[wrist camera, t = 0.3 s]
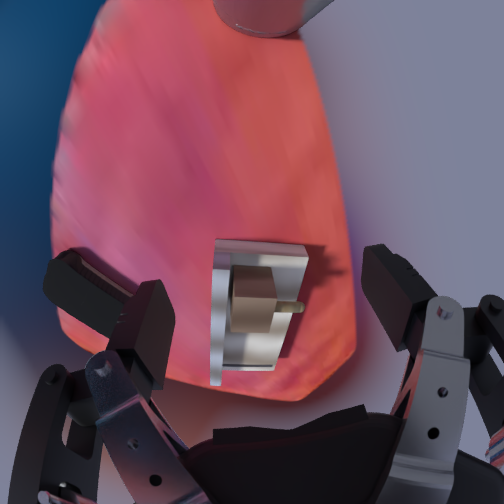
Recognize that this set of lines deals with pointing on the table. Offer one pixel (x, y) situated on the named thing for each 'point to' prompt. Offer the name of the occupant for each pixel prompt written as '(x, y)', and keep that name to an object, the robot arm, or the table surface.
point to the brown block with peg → (256, 300)
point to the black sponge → (84, 292)
